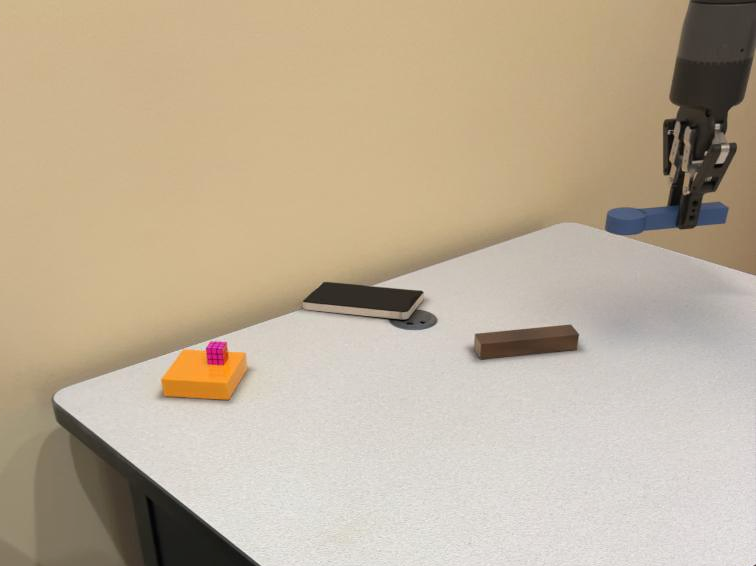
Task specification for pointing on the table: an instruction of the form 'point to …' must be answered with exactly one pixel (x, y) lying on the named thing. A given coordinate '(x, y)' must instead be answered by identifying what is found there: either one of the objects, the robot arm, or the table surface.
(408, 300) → the smartphone
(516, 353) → the walnut bar
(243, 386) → the table surface
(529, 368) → the table surface
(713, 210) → the spoon
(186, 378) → the orange square platform
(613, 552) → the table surface
